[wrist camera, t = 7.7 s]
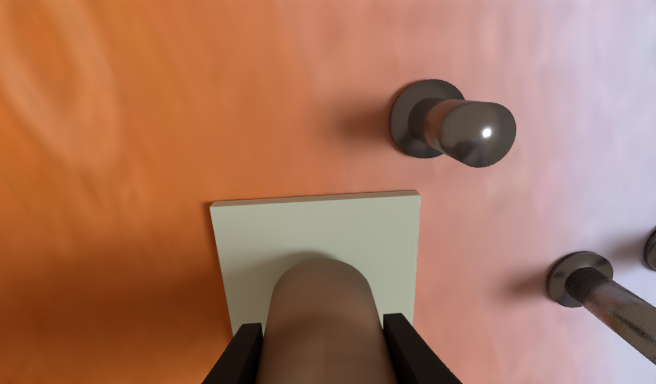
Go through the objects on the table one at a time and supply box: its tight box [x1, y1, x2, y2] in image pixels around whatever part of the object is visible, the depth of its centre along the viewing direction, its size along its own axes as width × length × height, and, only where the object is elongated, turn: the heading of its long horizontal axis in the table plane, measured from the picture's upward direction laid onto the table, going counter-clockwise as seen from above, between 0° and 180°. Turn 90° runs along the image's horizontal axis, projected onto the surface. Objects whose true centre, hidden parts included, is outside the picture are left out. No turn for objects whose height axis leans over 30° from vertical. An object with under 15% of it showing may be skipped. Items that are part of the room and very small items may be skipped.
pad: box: [210, 190, 421, 337], centre depth 13 cm, size 8×8×1 cm
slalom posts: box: [389, 79, 656, 365], centre depth 10 cm, size 15×14×4 cm
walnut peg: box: [255, 258, 399, 384], centre depth 9 cm, size 4×4×6 cm
